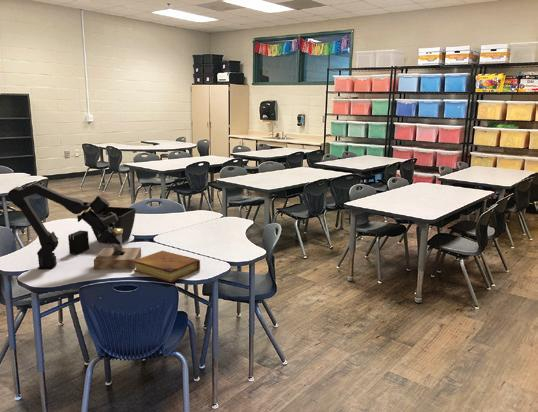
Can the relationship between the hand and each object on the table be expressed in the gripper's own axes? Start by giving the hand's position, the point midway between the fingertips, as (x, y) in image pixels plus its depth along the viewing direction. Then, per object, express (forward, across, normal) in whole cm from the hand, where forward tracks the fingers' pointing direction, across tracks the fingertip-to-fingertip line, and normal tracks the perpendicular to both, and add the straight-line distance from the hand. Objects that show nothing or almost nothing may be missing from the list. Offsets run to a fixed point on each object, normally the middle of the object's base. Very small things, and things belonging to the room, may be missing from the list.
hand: (120, 242), depth 217 cm
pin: (+4, 0, +6) cm, 7 cm away
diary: (+22, -15, -8) cm, 28 cm away
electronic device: (-8, +21, +23) cm, 32 cm away
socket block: (+6, 0, +8) cm, 10 cm away
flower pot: (+2, +38, +12) cm, 40 cm away
